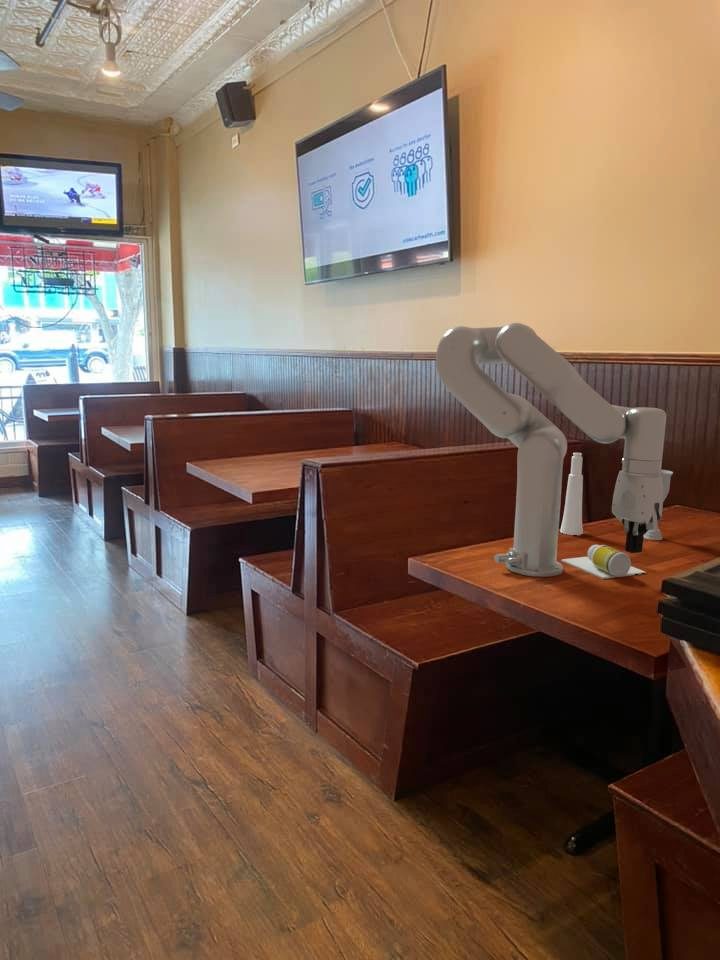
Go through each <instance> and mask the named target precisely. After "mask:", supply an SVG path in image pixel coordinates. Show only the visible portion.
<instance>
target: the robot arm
mask: <svg viewBox="0 0 720 960" xmlns="http://www.w3.org/2000/svg"><path fill="white" fill-rule="evenodd" d="M496 364H497V365H498V364H499V365H500V364H507V365H509V367H511V368H512V369H513V370H514V371H515V372H516V373H518V374H519V375H520V376H522V378H523V379H524V380H525V381H527V382H528V383H529V384H530V385H532V386H533V387H534V388H535V389H536V390H537V391H538V392H539V393H540V394H542V396H543V397H545V399H546V400H547V401H549V402H550V403H551V404H553V406H555V407H556V408H557V409H558V410H559V411H560V412H561V413H562V414H563V415H564V416H565V417H566V418H567V419H568V420H569V421H571V422H572V423H573V424H574V425H575V426H576V427H577V428H579V429H580V430H581V431H582V432H584V434H585V435H587V436H588V437H590V438H591V439H592V440H593V441H595V442H597V443H599V444H606V445H607V444H613V443H615V442H616V441H618V440H620V439H624V444H623V445H624V447H623V448H624V449H623V457H622V459H621V464H622V467H621V469H622V470H619V472H618V475H617V478H616V482H615V486H614V490H613V495H612V503H611V504H612V505H611V513H612V514H613V515H614V516H615V518H616V519H617V521H619V522H621V523H622V525H623V527H624V528H623V529H624V532H625V533H626V539H625V547H624V549H625V550H624V551H625V552H627V553H630V554H637V553H639V554H640V553H642V552H643V545H644V538H643V537H644V535H645V534H646V533H647V531H648V530H657V529H659V525H658V523H659V522H660V521H661V519H662V514H663V505H664V501H663V482H662V476H660V475H661V470H662V466H663V465H662V463H663V453H664V444H665V437H666V436H665V435H666V433H665V432H666V423H667V413H666V411H665V410H663V409H661V408H657V407H645V406H644V407H643V406H641V407H627V406H622V405H621V406H620V405H614V404H610V403H609V402H608V401H607V400H606V399H605V398H604V397H602V396H601V395H600V394H599V393H598V392H597V391H596V390H595V389H594V388H592V387H591V386H590V385H589V384H588V383H587V382H586V381H585V380H584V379H583V378H582V377H581V376H580V373H578V371H577V370H576V368H575V367H574V366H573V365H572V364H571V363H570V362H569V361H568V360H567V359H566V358H564V357H563V355H561V354H560V353H558V352H557V351H556V350H555V349H554V348H553V347H551V346H550V345H549V344H548V343H547V342H545V340H544V339H542V338H541V337H540V336H538V335H537V333H536V331H535V330H534V329H533V328H531V327H530V326H528V325H526V324H523V323H521V322H520V323H519V322H511V323H508V324H507V325H505V326H493V327H492V326H491V327H490V326H489V327H469V326H463V325H462V326H454V327H452V328H450V329H449V330H447V331H446V332H445V333H444V334H442V337H441V338H440V340H439V342H438V345H437V347H436V353H435V365H436V370H437V373H438V376H439V378H440V380H441V383H442V384H443V385H444V387H445V388H446V389H447V390H448V391H449V393H450V394H451V395H453V397H455V399H457V400H458V401H459V402H460V403H461V405H463V406H464V407H465V408H466V409H467V410H468V412H470V414H472V415H473V416H474V417H475V419H477V420H478V421H479V422H480V423H481V424H482V425H484V427H486V428H487V430H488V431H489V432H490V433H491V434H493V435H494V436H496V437H498V438H501V439H508V440H509V441H510V442H511V443H512V444H514V446H515V447H516V448H518V450H517V456H516V457H517V458H516V459H517V460H516V463H517V465H516V466H517V468H516V469H517V471H516V473H517V474H516V475H517V478H516V479H517V480H516V496H515V501H516V502H515V515H514V516H515V517H514V533H513V547H509V549H508V551H507V552H506V553H496V554H494V555H493V556H494V557H493V559H494V562H495V563H496V564H499V563H505V565H504V566H505V568H506V569H507V570H508V571H510V572H512V573H515V574H517V575H518V574H519V575H522V576H528V577H543V578H545V577H546V578H547V577H554V576H558V575H560V574H562V573H563V571H564V566H563V564H562V563H561V562H558V561H557V557H558V539H559V531H560V530H559V527H560V516H561V515H560V514H561V504H562V503H561V501H562V499H561V498H562V483H563V467H564V466H563V465H564V458H565V457H566V454H567V451H568V443H567V442H568V441H567V439H566V436H565V434H564V433H563V431H562V430H560V429H559V428H558V427H557V426H556V425H555V424H554V422H552V421H551V420H550V419H548V418H547V417H546V416H545V415H544V414H543V413H542V412H541V411H539V409H537V408H536V407H535V406H534V405H533V404H532V403H531V402H530V401H528V400H527V399H525V397H522V396H521V395H518V394H514V393H509V392H507V390H505V389H504V388H502V386H500V385H499V384H498V383H497V382H496V381H495V380H494V379H493V378H492V377H491V376H490V375H489V374H487V373H486V372H485V371H483V370H482V369H481V368H480V367H479V365H496Z"/></svg>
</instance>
